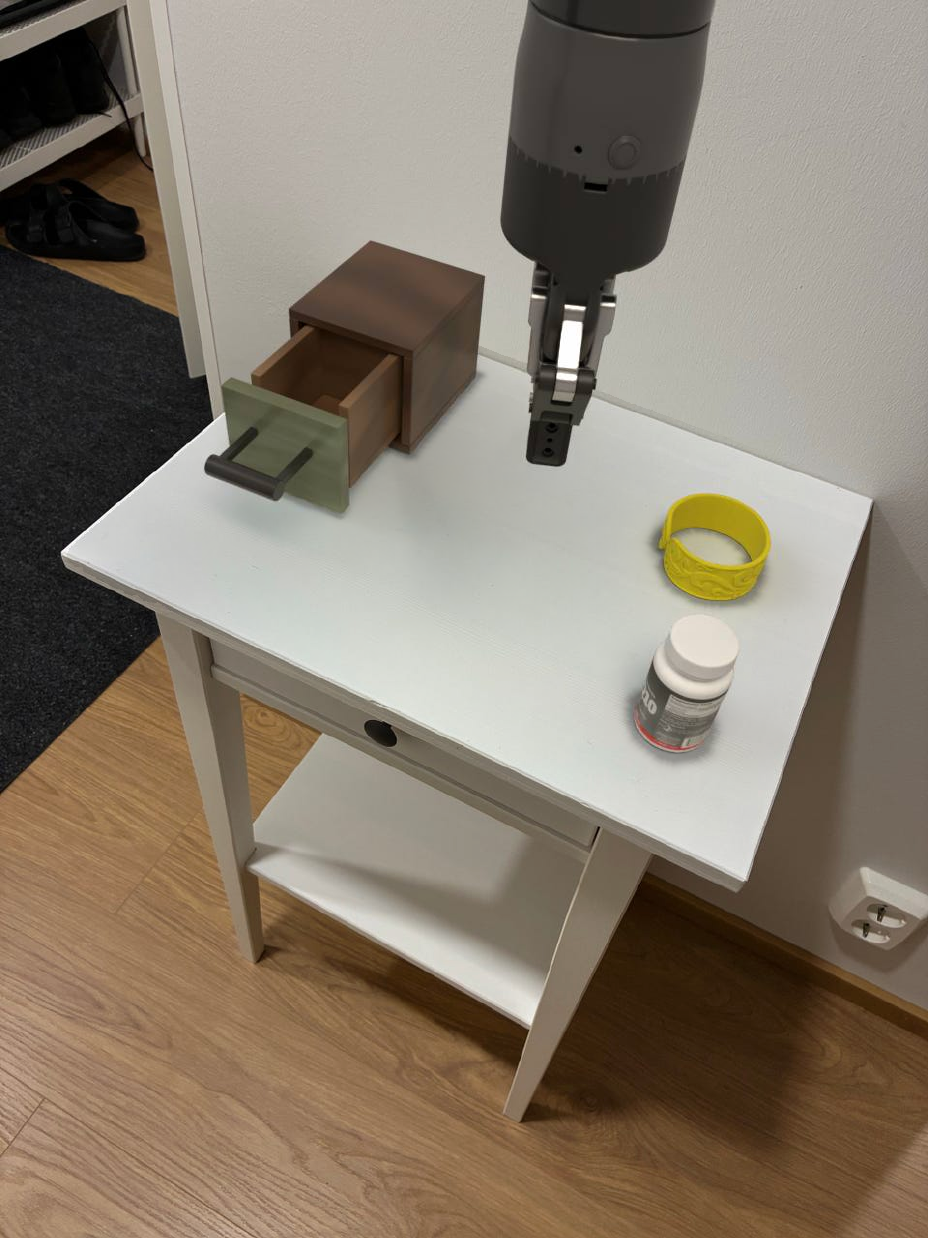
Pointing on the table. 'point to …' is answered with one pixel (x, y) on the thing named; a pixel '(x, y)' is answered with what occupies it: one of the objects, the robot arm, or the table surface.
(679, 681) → the pill bottle
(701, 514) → the bracelet
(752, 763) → the table surface
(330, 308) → the cabinet
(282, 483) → the drawer
